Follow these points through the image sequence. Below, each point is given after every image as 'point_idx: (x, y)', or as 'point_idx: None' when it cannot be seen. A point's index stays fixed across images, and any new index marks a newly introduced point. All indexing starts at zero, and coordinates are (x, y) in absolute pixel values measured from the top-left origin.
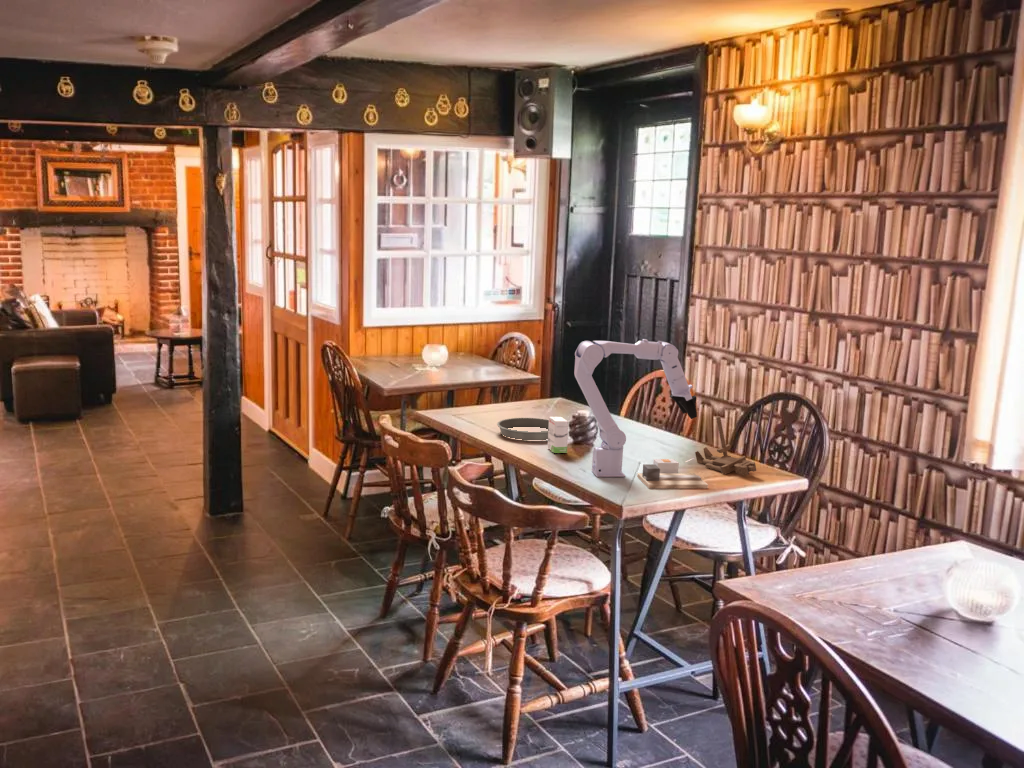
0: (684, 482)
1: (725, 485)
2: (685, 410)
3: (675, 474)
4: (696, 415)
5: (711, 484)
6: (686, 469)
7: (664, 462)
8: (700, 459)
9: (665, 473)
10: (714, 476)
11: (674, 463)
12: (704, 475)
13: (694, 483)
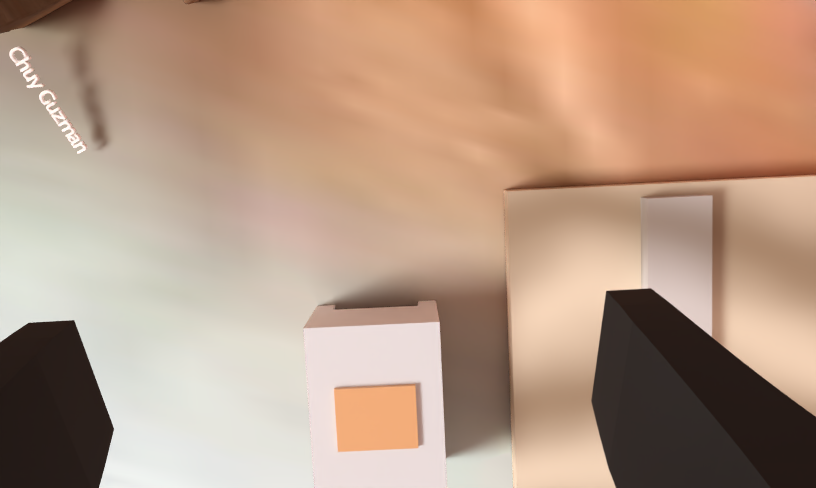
0: (776, 347)
1: (739, 3)
2: (77, 426)
3: (544, 356)
4: (670, 309)
5: (710, 111)
6: (272, 188)
7: (428, 443)
8: (51, 6)
9: (518, 427)
10: (475, 12)
11: (440, 358)
12: (448, 89)
13: (805, 276)
